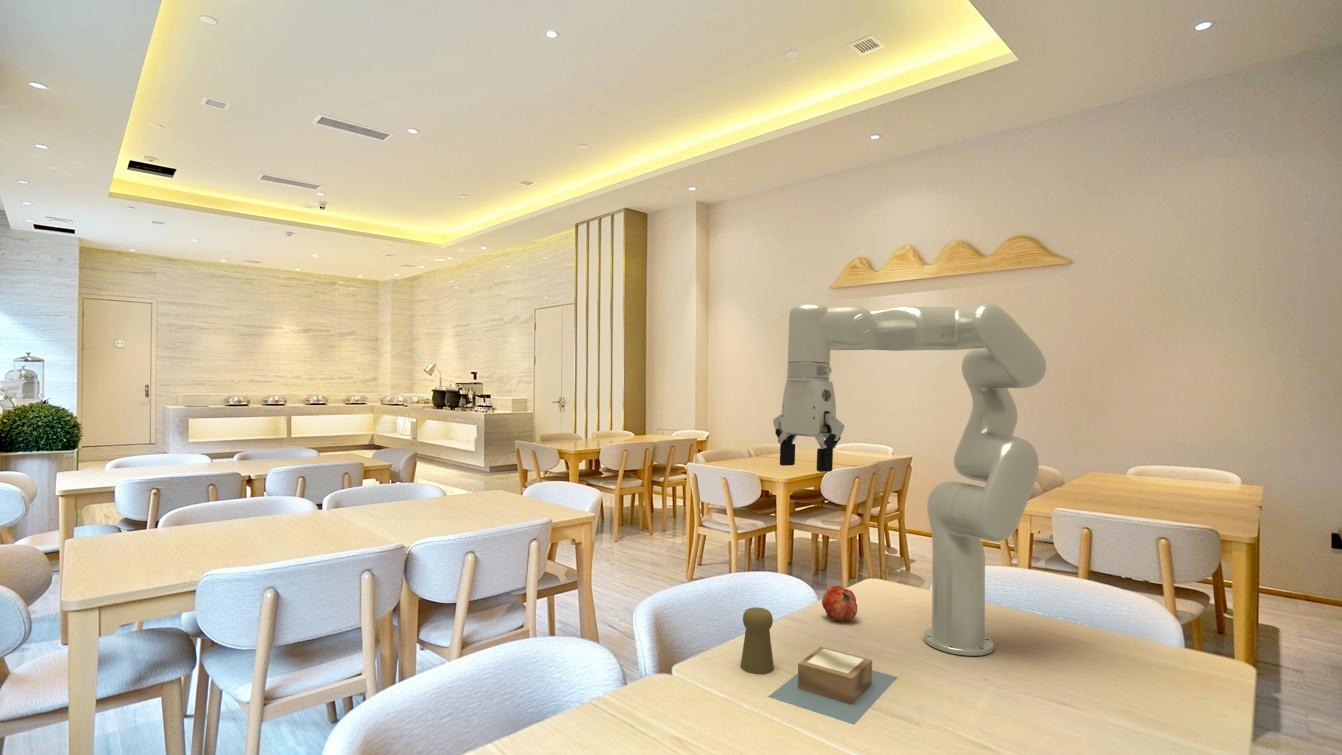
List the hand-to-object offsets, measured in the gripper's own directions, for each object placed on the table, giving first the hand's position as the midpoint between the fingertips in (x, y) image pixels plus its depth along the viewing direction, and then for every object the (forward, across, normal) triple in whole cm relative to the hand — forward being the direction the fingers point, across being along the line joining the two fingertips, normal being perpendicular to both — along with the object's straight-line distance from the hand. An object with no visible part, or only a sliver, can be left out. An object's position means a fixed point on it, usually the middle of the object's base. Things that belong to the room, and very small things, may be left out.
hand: (805, 468), depth 118 cm
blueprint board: (+35, -11, +2) cm, 37 cm away
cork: (+36, +2, +8) cm, 37 cm away
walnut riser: (+34, -11, +2) cm, 36 cm away
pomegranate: (+35, +14, -25) cm, 45 cm away
